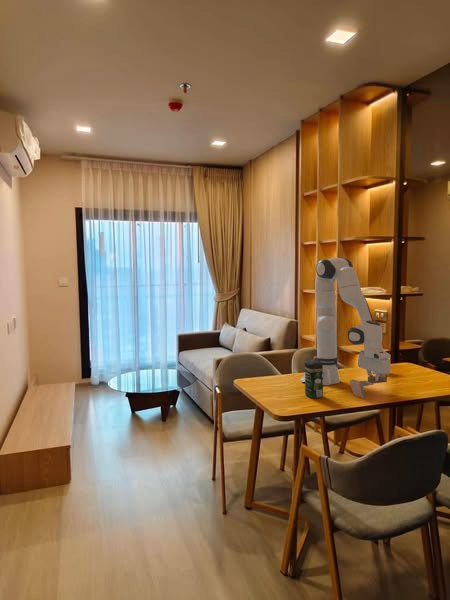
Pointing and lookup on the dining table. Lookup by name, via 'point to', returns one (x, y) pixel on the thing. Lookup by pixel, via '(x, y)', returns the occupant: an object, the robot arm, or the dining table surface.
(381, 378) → the turner
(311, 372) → the coffee jar
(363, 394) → the tile
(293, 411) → the dining table surface
